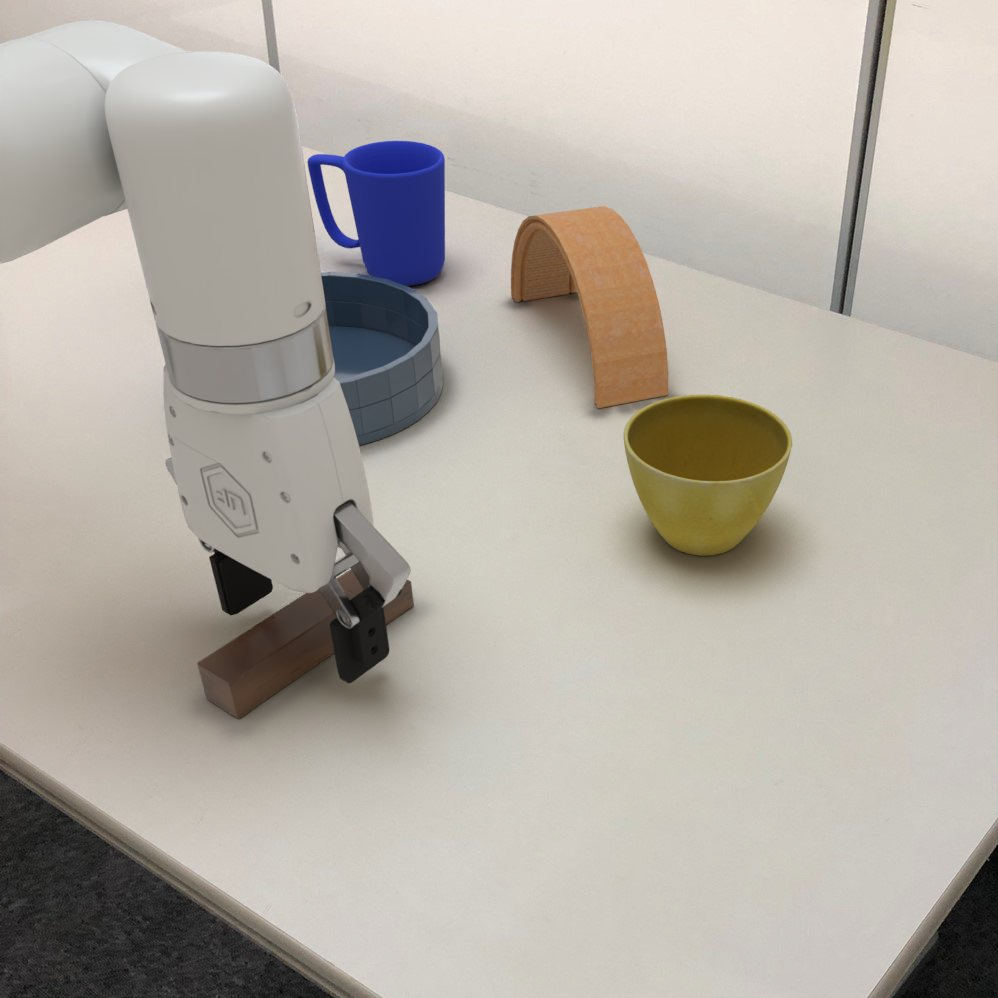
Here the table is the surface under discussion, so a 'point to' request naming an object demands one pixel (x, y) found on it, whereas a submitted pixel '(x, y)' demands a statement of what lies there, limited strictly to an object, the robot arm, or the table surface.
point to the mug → (391, 207)
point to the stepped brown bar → (280, 649)
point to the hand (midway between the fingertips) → (305, 633)
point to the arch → (598, 295)
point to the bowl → (382, 352)
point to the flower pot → (706, 468)
